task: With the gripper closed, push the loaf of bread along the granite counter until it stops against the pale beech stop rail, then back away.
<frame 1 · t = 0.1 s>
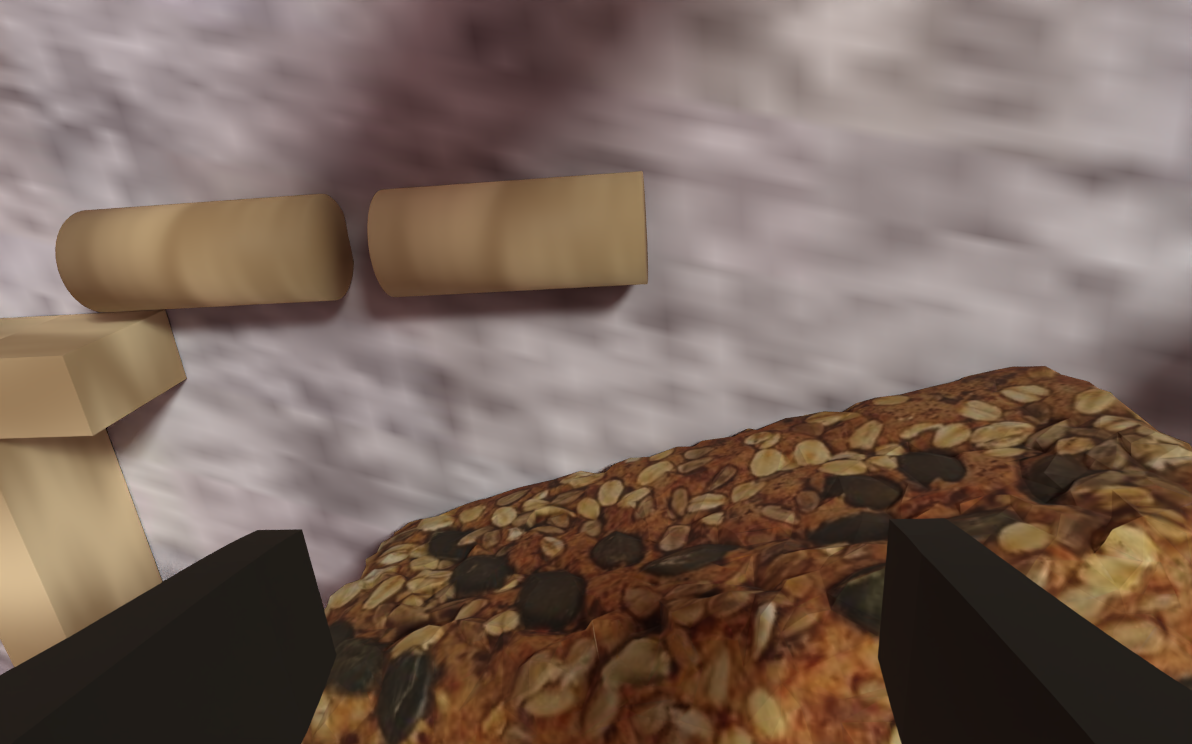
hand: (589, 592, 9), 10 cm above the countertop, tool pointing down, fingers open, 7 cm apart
dowel a: (525, 230, 17), on the countertop
bread: (731, 570, 21), on the countertop
dowel b: (241, 247, 18), on the countertop
stop rail: (134, 583, 23), on the countertop
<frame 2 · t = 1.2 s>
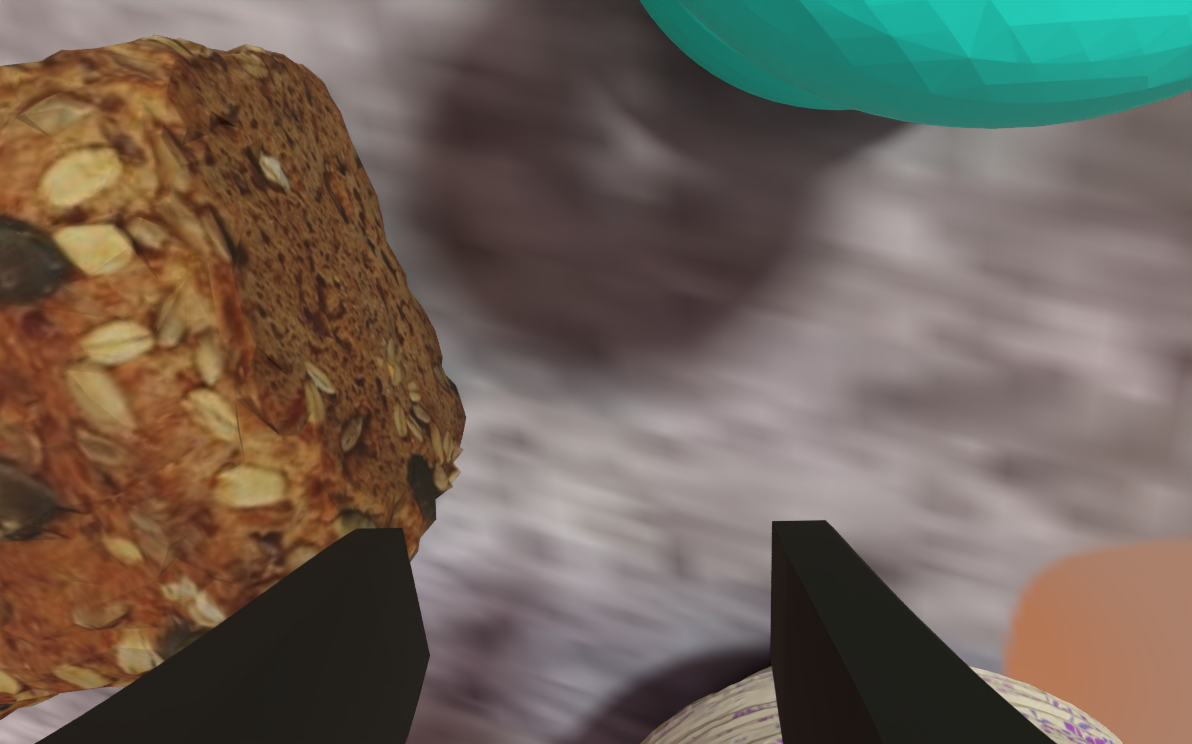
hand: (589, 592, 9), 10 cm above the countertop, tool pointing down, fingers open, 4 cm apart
bread: (129, 346, 20), on the countertop
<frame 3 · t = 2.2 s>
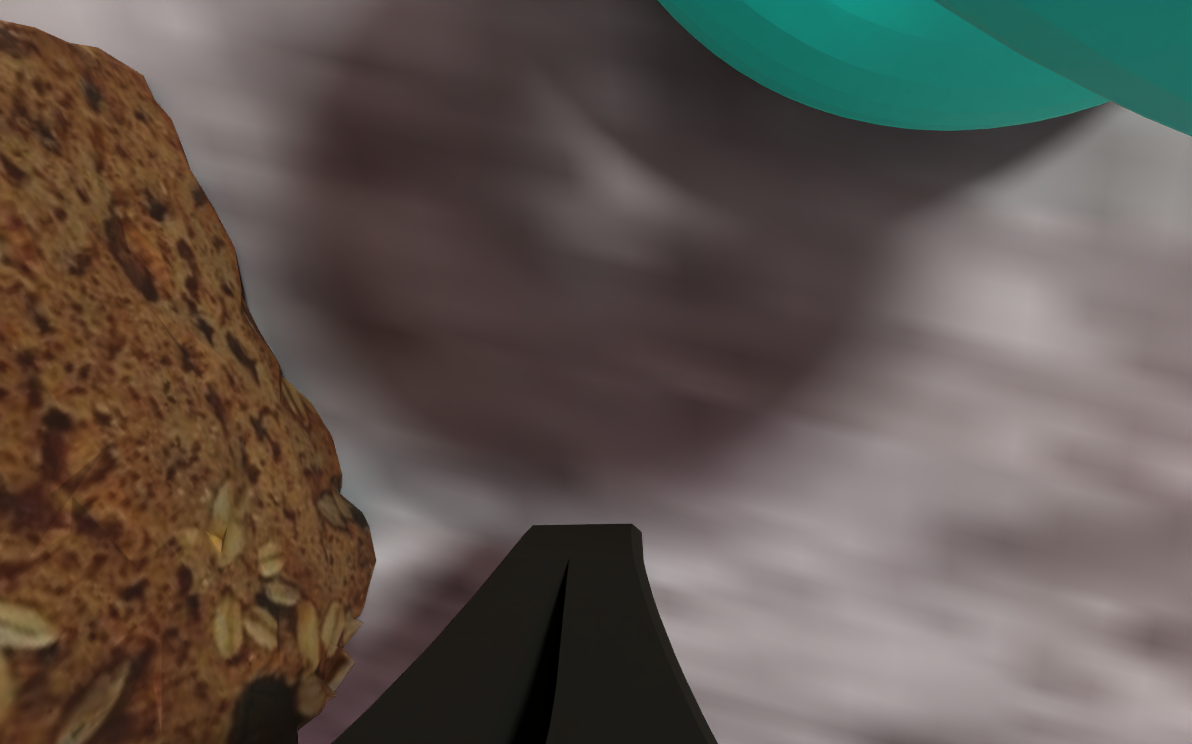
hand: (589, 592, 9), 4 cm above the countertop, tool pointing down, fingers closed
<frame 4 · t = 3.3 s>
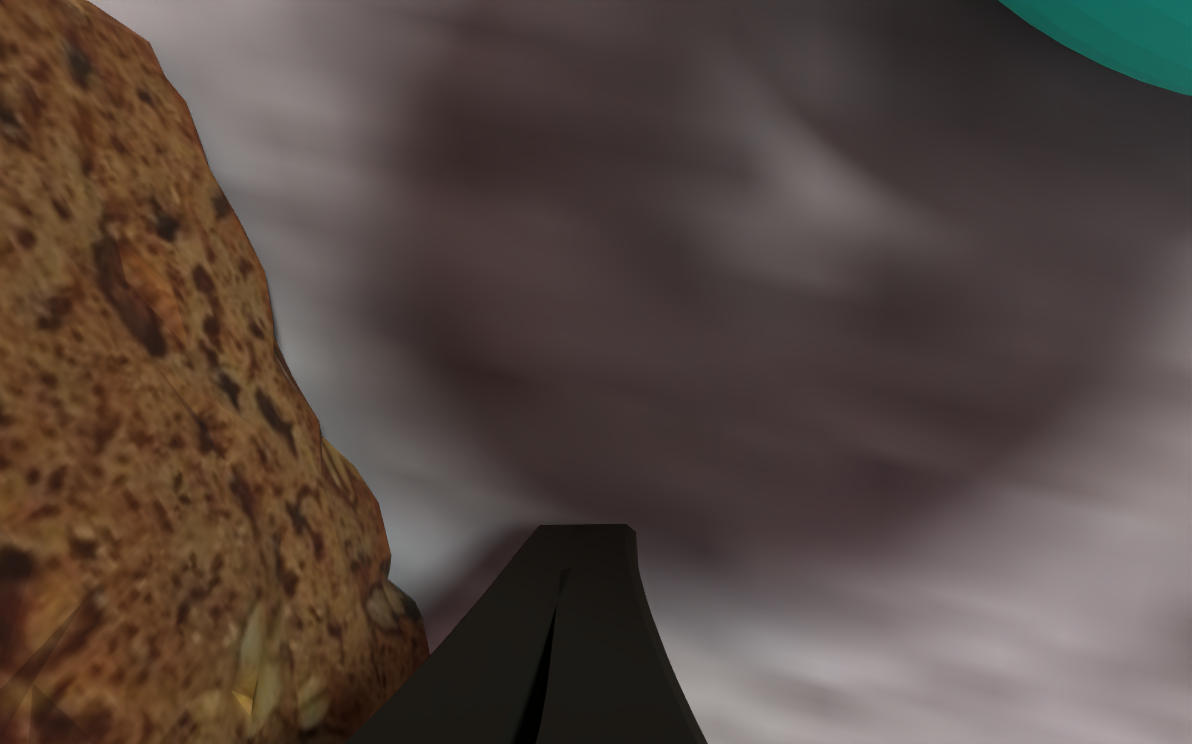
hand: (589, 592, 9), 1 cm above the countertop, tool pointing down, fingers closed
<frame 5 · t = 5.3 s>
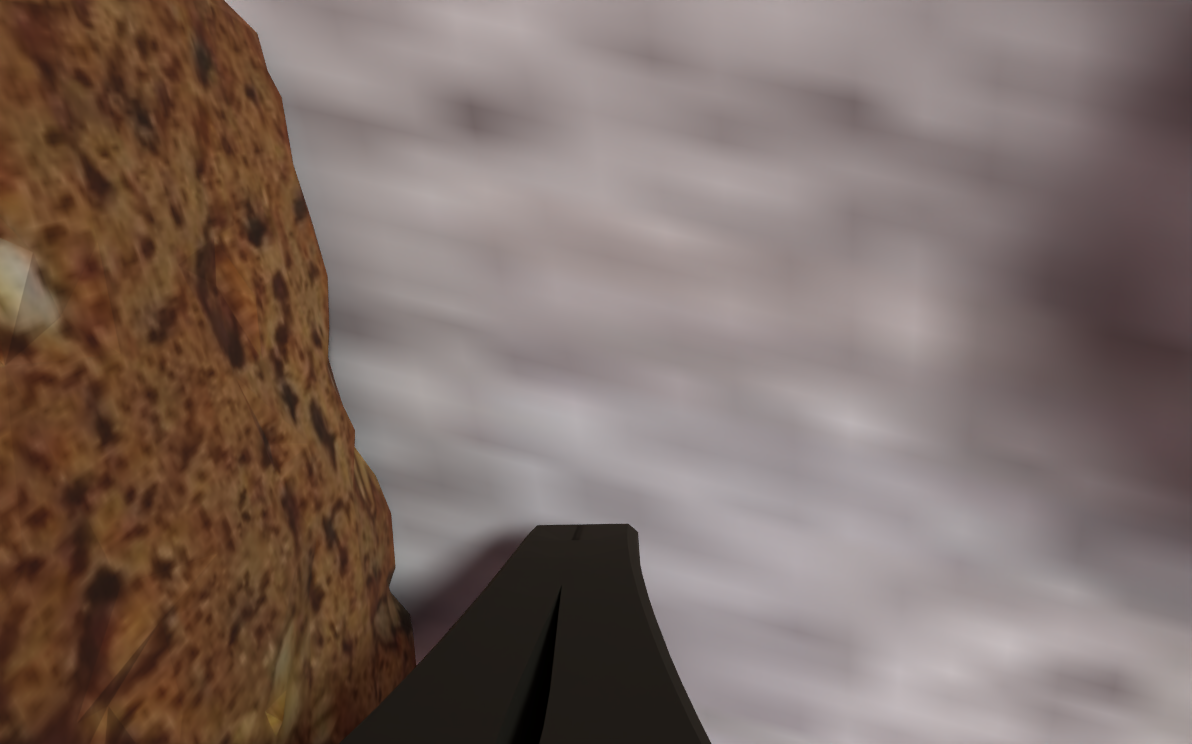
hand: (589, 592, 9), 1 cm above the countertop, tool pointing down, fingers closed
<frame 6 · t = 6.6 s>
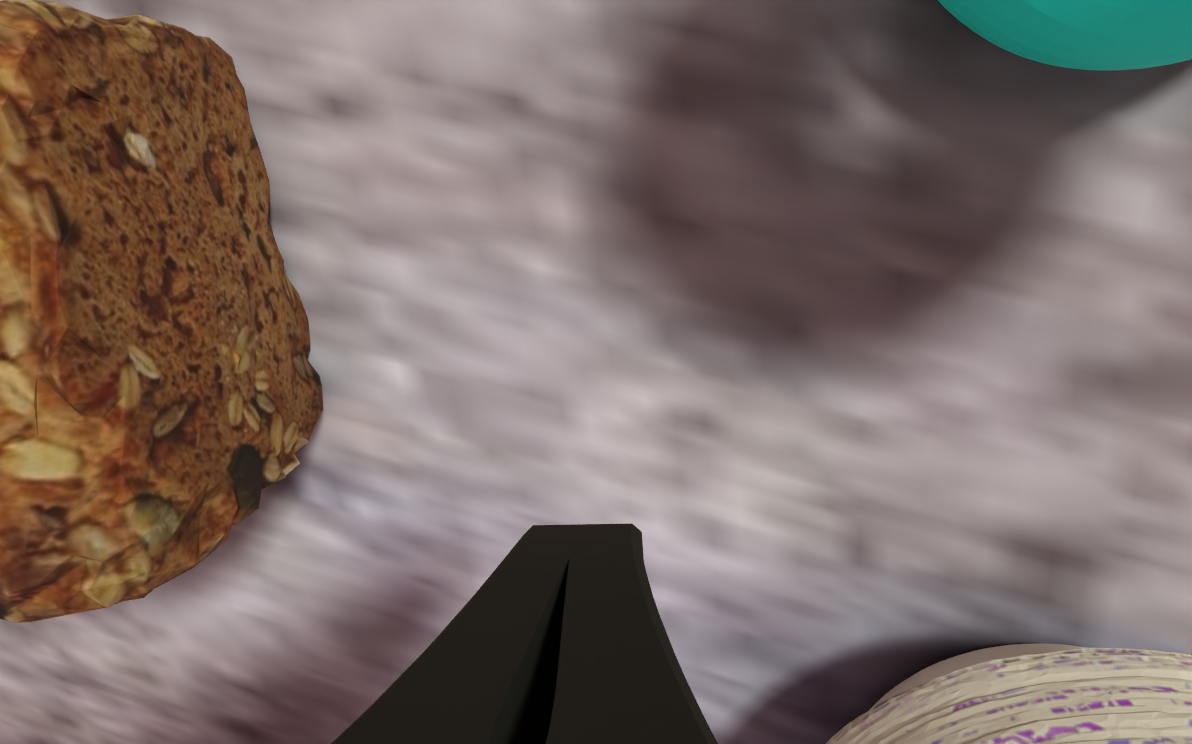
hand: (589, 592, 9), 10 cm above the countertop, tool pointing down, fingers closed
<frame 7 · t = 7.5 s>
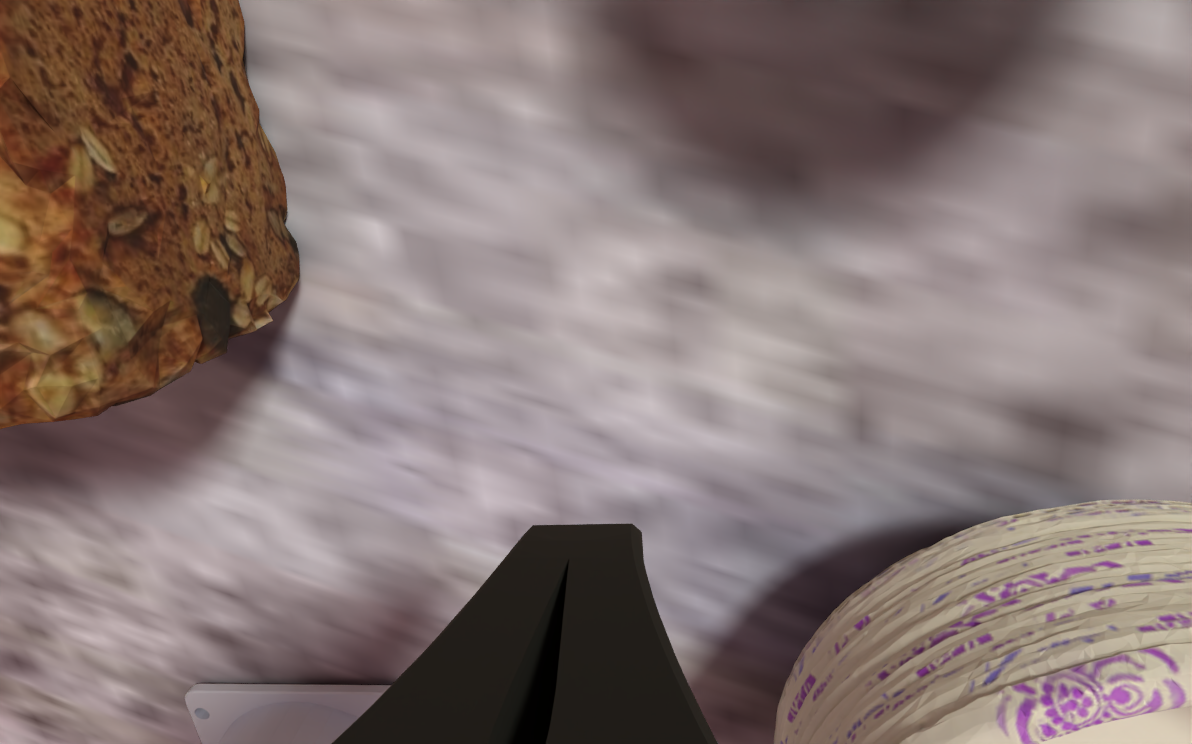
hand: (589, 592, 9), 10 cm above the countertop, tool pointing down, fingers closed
paper bowls: (1013, 651, 21), on the countertop
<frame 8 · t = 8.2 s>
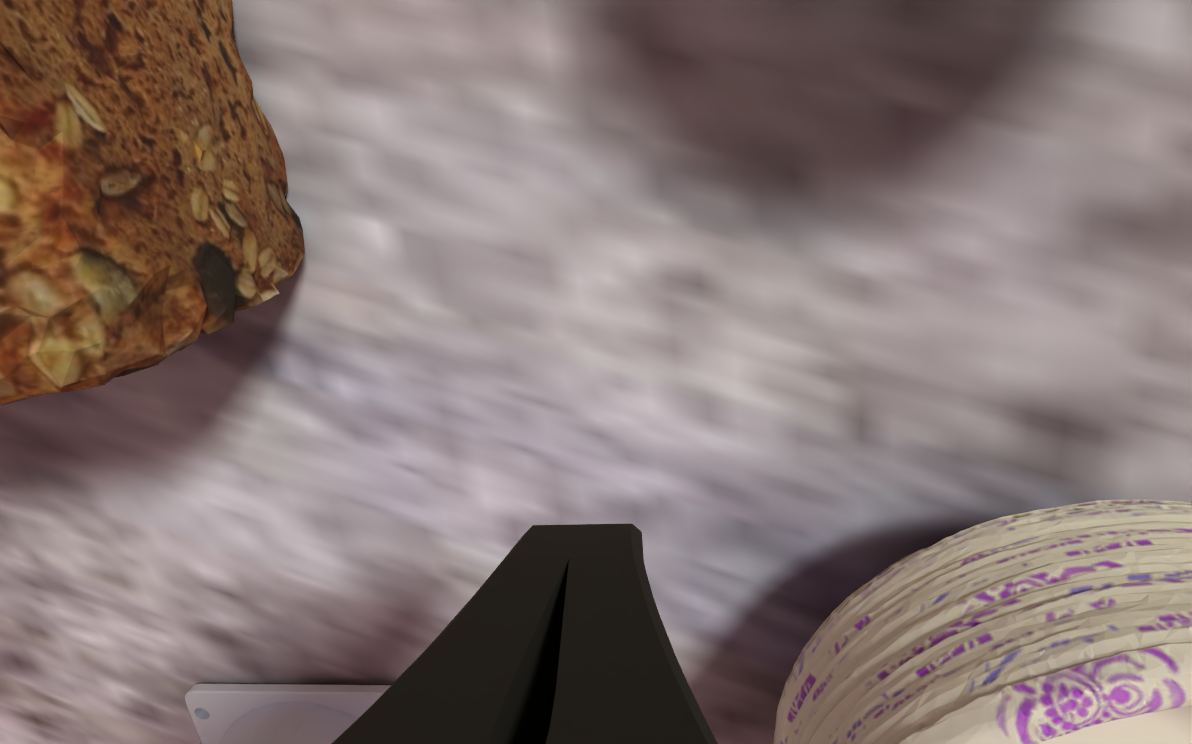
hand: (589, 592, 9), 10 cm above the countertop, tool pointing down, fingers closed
paper bowls: (1013, 651, 21), on the countertop
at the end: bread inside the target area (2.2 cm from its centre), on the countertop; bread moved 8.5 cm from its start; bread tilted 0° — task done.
